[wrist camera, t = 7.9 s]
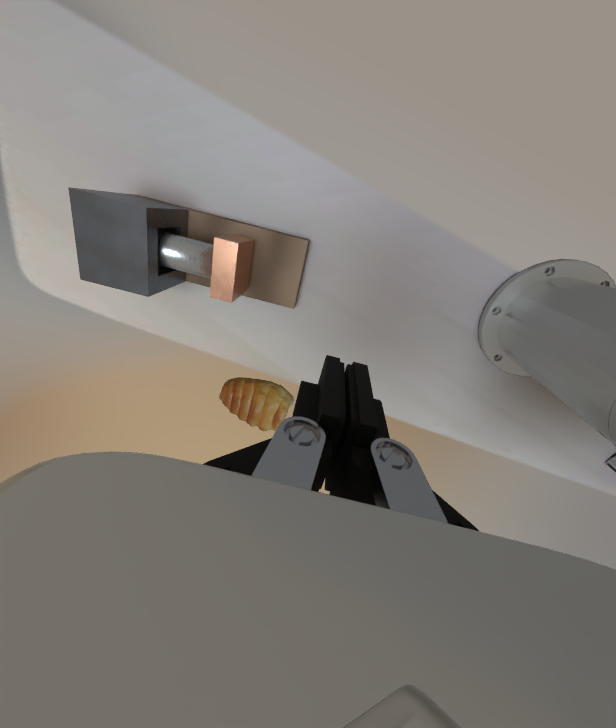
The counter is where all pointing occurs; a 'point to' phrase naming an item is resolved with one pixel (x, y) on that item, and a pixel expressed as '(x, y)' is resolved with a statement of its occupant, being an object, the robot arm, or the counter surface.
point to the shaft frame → (145, 216)
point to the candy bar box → (612, 462)
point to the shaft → (210, 261)
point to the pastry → (257, 401)
